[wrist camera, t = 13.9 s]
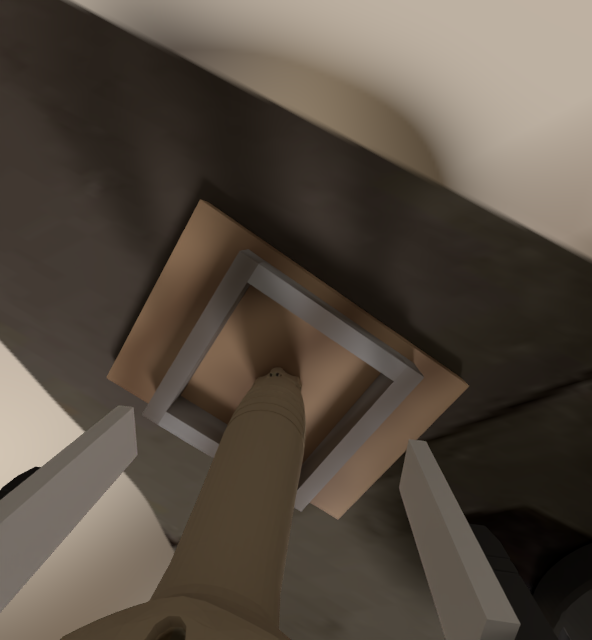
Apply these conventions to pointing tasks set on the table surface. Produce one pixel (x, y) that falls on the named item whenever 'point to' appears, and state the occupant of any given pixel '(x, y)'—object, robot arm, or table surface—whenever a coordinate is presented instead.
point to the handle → (230, 532)
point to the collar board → (278, 359)
